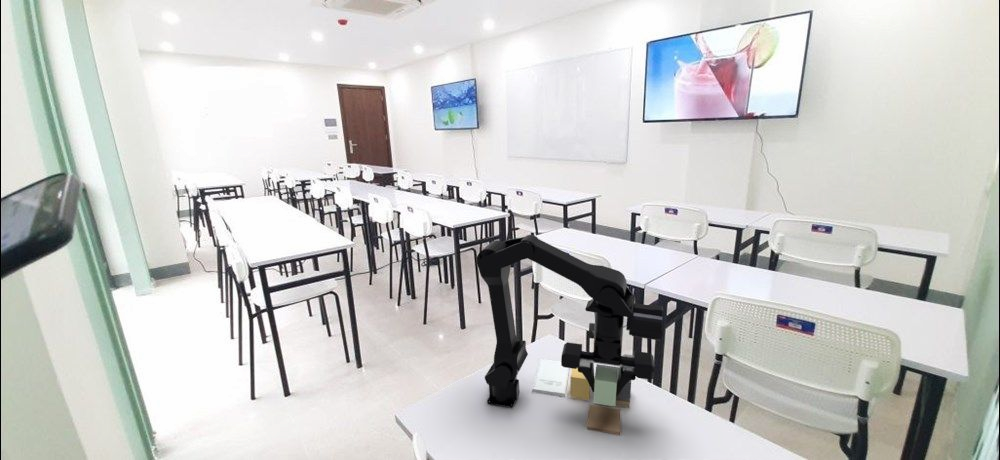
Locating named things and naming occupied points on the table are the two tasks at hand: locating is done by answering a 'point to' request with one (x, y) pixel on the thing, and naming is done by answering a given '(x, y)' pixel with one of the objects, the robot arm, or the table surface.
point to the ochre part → (579, 385)
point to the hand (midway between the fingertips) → (605, 392)
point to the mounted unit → (624, 395)
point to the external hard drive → (551, 378)
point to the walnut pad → (604, 419)
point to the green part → (605, 386)
